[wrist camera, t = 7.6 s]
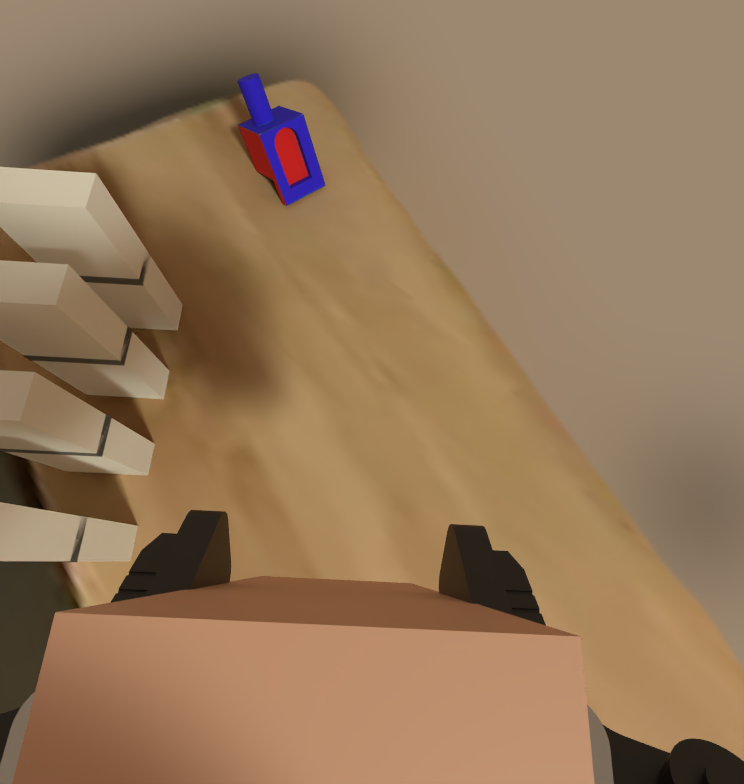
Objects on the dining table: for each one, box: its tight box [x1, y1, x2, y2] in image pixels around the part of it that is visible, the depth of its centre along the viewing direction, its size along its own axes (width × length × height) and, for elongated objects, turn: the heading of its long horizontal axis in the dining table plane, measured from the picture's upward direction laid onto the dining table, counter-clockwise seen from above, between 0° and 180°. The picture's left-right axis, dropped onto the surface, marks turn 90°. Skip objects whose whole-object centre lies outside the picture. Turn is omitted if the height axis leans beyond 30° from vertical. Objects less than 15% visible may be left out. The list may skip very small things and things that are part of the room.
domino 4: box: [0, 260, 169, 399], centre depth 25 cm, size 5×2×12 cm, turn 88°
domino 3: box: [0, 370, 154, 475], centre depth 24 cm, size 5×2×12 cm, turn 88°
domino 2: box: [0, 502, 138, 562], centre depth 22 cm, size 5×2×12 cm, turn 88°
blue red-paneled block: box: [238, 73, 326, 206], centre depth 35 cm, size 4×4×8 cm
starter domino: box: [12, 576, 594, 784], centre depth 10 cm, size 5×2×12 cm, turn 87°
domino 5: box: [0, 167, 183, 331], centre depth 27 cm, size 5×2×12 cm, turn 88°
